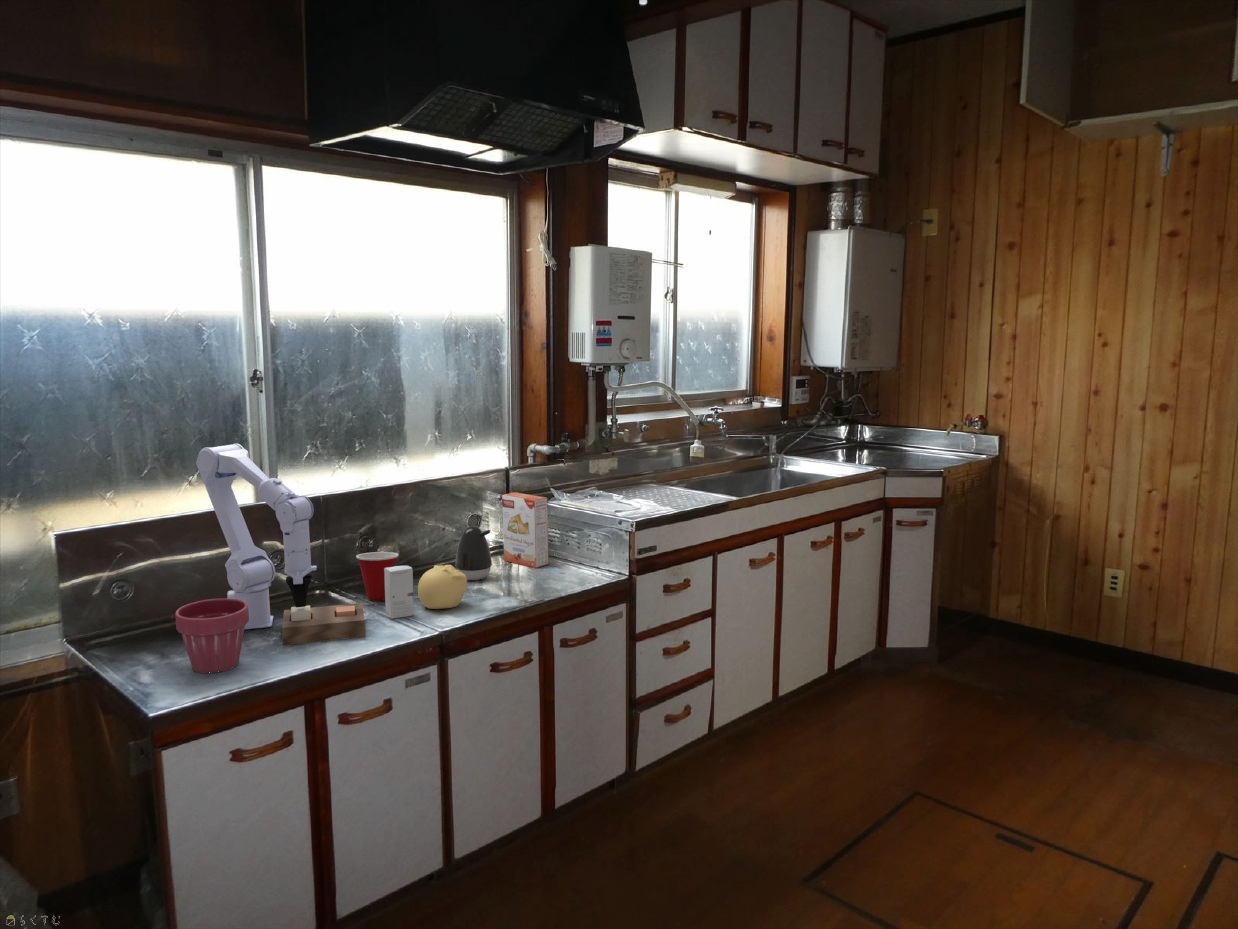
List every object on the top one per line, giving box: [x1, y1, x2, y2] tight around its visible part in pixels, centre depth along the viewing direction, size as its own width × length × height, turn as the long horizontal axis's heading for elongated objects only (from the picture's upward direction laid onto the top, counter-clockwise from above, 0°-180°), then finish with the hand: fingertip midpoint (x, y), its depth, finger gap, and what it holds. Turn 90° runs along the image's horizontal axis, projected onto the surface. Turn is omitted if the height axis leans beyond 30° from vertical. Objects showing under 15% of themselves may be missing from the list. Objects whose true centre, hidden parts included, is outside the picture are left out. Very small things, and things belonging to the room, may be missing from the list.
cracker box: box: [501, 492, 549, 569], centre depth 277 cm, size 14×6×21 cm, turn 50°
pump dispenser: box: [455, 525, 493, 581], centre depth 261 cm, size 10×10×15 cm
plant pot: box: [175, 598, 249, 674], centre depth 194 cm, size 14×14×13 cm
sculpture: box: [417, 564, 468, 610], centre depth 235 cm, size 12×12×11 cm
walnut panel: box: [281, 602, 366, 646], centre depth 216 cm, size 18×14×4 cm
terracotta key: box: [336, 606, 355, 617], centre depth 217 cm, size 4×4×4 cm
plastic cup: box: [356, 551, 399, 602], centre depth 242 cm, size 11×11×12 cm
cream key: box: [290, 605, 311, 621], centre depth 214 cm, size 4×4×4 cm
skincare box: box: [384, 564, 415, 620], centre depth 227 cm, size 6×4×12 cm
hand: (300, 606), depth 214 cm, fingers closed
